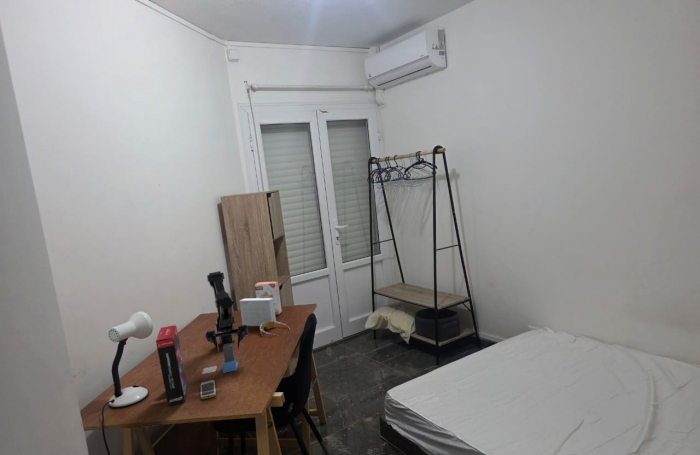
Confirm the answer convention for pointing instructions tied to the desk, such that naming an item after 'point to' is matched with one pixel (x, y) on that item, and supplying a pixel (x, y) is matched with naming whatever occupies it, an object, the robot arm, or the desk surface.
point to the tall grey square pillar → (228, 352)
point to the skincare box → (257, 311)
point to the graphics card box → (172, 364)
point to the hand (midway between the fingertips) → (228, 350)
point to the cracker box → (269, 293)
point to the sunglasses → (269, 326)
